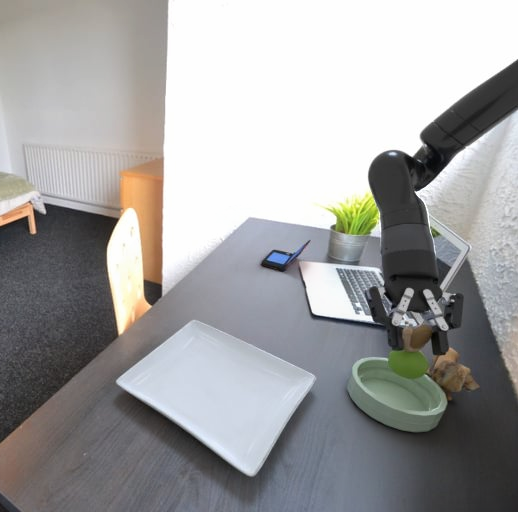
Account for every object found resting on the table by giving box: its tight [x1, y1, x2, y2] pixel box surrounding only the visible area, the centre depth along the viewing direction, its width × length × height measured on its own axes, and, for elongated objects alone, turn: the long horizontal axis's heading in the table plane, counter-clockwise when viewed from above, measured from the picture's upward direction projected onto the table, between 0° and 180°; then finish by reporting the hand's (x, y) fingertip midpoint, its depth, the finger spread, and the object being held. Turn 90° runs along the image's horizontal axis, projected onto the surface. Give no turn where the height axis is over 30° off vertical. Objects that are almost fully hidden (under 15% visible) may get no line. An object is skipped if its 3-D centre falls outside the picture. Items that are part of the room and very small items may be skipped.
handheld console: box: [260, 239, 311, 272], centre depth 115 cm, size 12×11×7 cm
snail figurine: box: [387, 320, 433, 379], centre depth 61 cm, size 5×6×12 cm
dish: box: [346, 356, 448, 433], centre depth 66 cm, size 14×14×4 cm
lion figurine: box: [425, 347, 480, 401], centre depth 68 cm, size 15×5×9 cm, turn 150°
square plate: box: [115, 319, 317, 478], centre depth 69 cm, size 27×27×4 cm
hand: (418, 352), depth 60 cm, fingers closed on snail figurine, 5 cm apart
